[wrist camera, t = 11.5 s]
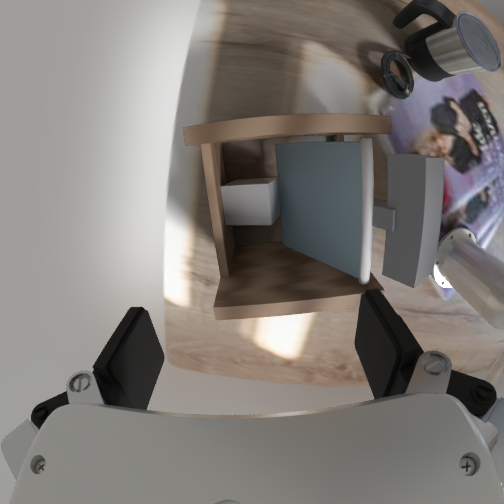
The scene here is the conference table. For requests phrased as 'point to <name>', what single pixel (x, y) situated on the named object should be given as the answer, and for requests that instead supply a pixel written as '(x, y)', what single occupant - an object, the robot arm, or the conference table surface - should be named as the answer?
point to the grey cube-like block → (251, 201)
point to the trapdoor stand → (276, 254)
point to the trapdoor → (360, 207)
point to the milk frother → (440, 47)
